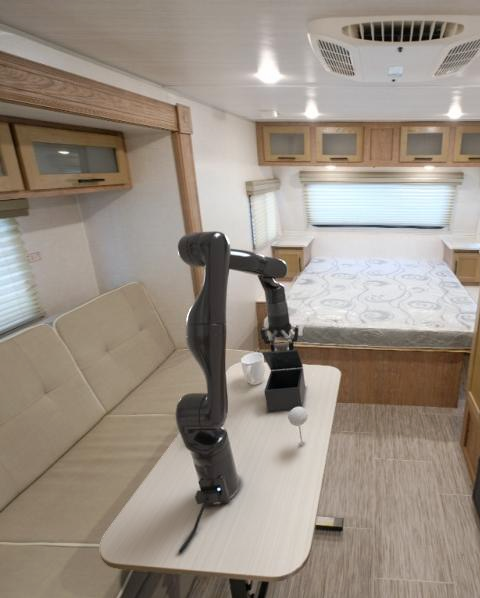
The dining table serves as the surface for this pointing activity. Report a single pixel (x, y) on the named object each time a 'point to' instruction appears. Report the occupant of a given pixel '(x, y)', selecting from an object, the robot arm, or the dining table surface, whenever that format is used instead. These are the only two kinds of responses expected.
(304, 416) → the lollipop
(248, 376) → the mug
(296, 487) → the dining table surface
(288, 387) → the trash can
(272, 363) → the bin lid
